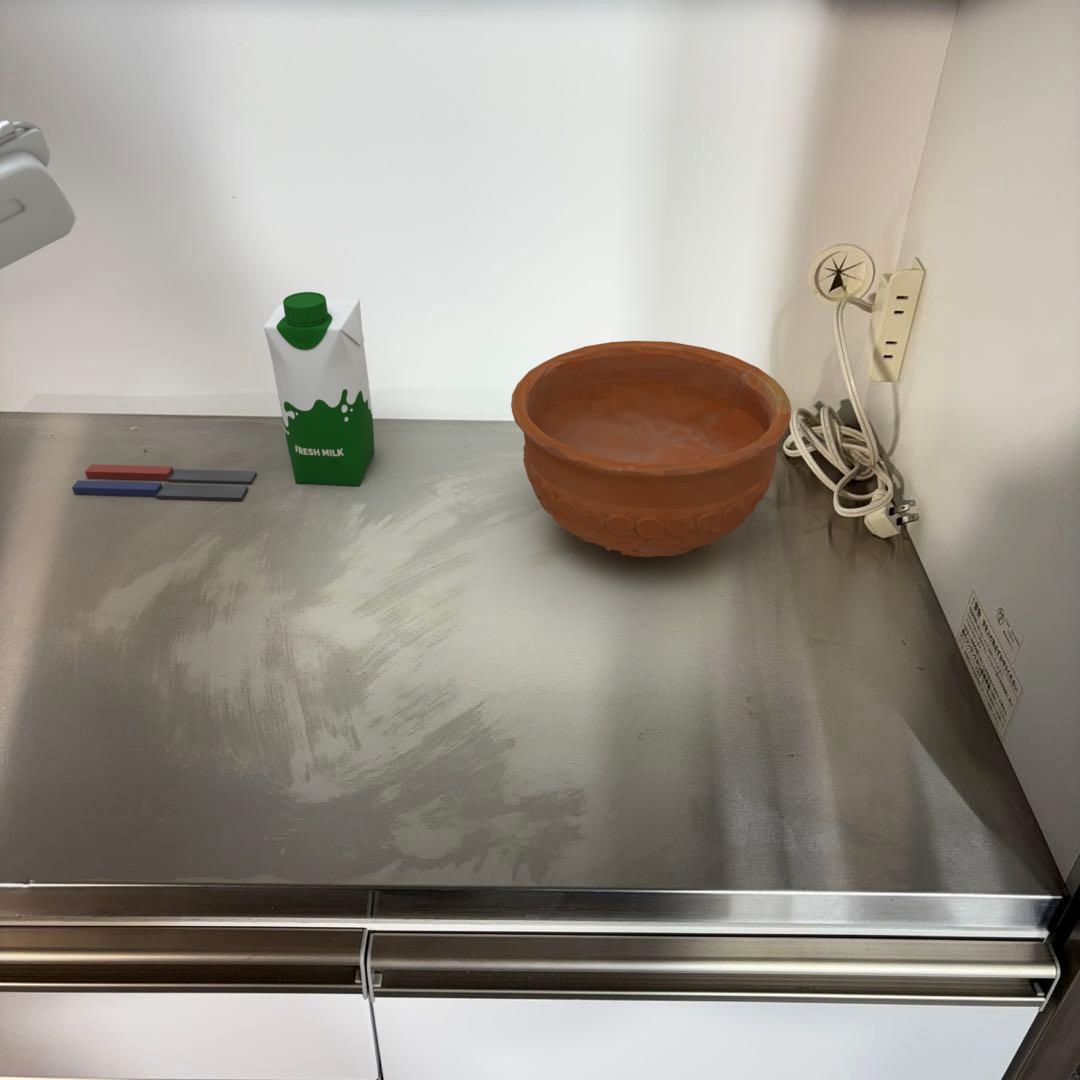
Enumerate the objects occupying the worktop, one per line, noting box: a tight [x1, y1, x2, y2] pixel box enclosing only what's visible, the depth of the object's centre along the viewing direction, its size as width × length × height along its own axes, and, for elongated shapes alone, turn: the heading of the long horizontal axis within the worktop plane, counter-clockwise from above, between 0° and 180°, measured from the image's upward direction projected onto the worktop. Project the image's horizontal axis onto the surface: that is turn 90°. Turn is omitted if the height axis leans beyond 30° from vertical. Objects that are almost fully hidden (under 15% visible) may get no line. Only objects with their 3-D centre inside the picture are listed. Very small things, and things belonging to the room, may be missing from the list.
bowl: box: [510, 340, 792, 558], centre depth 91 cm, size 25×25×15 cm
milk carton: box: [263, 291, 375, 487], centre depth 100 cm, size 9×9×20 cm
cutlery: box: [71, 464, 258, 502], centre depth 102 cm, size 18×5×1 cm, turn 87°
